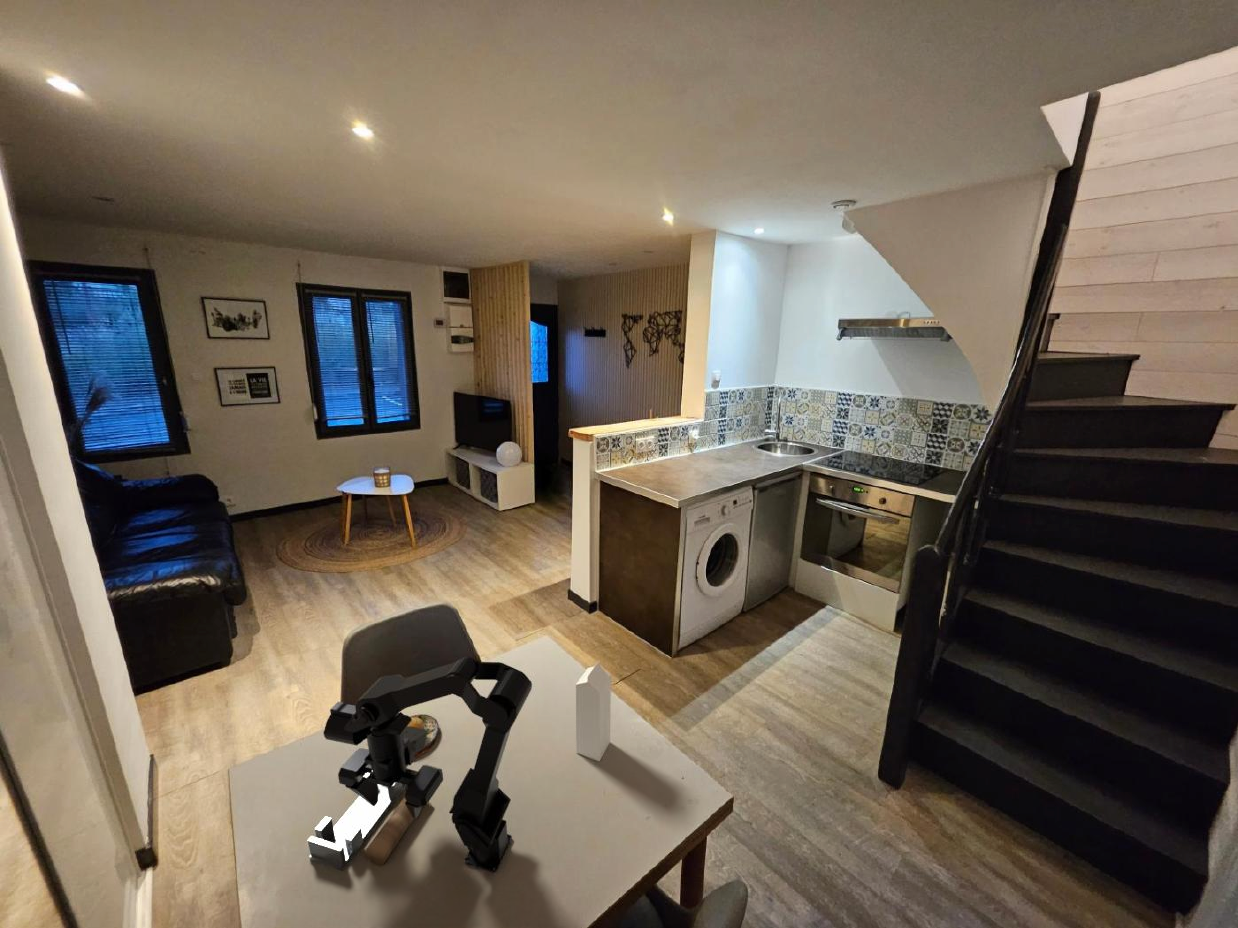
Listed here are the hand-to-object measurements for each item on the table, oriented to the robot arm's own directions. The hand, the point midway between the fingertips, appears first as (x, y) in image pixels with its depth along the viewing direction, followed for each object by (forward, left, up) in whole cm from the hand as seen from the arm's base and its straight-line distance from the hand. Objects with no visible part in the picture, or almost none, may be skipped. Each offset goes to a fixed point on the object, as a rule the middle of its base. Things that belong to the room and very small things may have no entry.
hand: (395, 809), depth 91 cm
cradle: (+8, 0, -5) cm, 9 cm away
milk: (-31, -28, -5) cm, 42 cm away
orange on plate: (+11, -19, -5) cm, 23 cm away
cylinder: (0, 0, -5) cm, 5 cm away
